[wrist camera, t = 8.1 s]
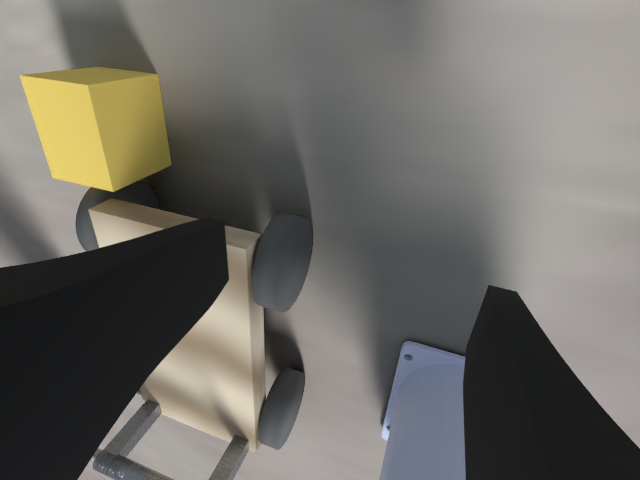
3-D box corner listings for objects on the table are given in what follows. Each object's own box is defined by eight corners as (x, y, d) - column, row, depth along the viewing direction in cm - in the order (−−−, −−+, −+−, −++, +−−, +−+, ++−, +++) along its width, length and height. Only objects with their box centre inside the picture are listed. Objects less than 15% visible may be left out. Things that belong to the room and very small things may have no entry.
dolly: (303, 403, 29) (237, 547, 21) (168, 354, 32) (67, 464, 24) (315, 202, 20) (209, 318, 12) (128, 163, 23) (-52, 235, 15)
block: (172, 164, 22) (113, 192, 19) (118, 153, 23) (53, 177, 20) (159, 73, 20) (87, 85, 16) (99, 66, 21) (19, 75, 17)
